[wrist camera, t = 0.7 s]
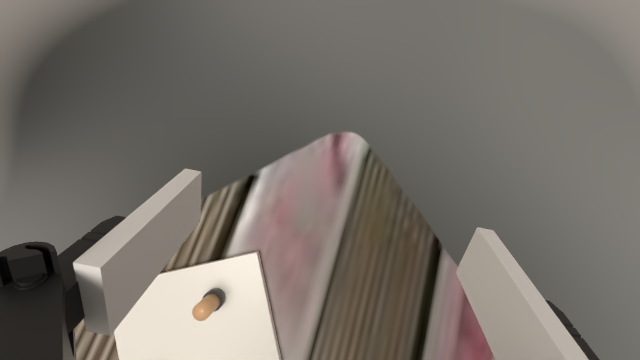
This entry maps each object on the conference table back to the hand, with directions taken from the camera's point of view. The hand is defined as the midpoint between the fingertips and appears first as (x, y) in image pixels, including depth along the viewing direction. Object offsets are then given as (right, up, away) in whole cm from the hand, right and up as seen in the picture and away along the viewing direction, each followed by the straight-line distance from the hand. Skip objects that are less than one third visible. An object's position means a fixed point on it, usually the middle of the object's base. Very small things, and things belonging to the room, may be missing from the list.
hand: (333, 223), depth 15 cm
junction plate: (-18, -21, +31) cm, 42 cm away
